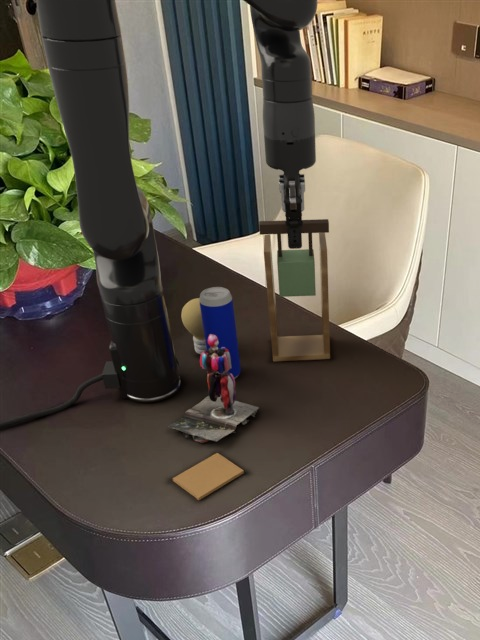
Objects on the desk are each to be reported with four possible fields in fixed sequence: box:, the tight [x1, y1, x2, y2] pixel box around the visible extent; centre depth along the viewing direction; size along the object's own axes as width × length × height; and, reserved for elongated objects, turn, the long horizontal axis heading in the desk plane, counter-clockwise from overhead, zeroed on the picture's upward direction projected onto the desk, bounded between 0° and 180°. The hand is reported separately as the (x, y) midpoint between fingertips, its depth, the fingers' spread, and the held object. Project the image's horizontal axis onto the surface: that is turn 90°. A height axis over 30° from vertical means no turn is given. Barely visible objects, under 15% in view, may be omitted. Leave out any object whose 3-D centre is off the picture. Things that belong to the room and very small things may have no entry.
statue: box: [167, 334, 260, 444], centre depth 108 cm, size 11×9×15 cm
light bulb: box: [181, 297, 207, 356], centre depth 126 cm, size 6×6×10 cm
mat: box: [172, 452, 245, 501], centre depth 102 cm, size 8×6×1 cm
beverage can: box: [199, 286, 242, 380], centre depth 118 cm, size 5×5×15 cm
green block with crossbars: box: [258, 218, 330, 298], centre depth 118 cm, size 11×5×12 cm, turn 95°
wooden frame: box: [263, 233, 331, 362], centre depth 123 cm, size 10×7×20 cm
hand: (295, 244), depth 117 cm, fingers closed on green block with crossbars
